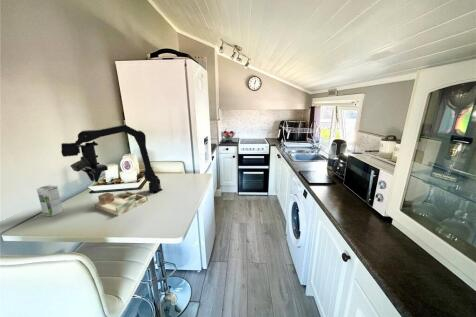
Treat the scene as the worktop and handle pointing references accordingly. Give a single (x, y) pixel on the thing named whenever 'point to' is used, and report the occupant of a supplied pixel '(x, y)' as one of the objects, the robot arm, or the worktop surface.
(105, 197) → the walnut block
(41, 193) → the syrup box
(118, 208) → the trap board
